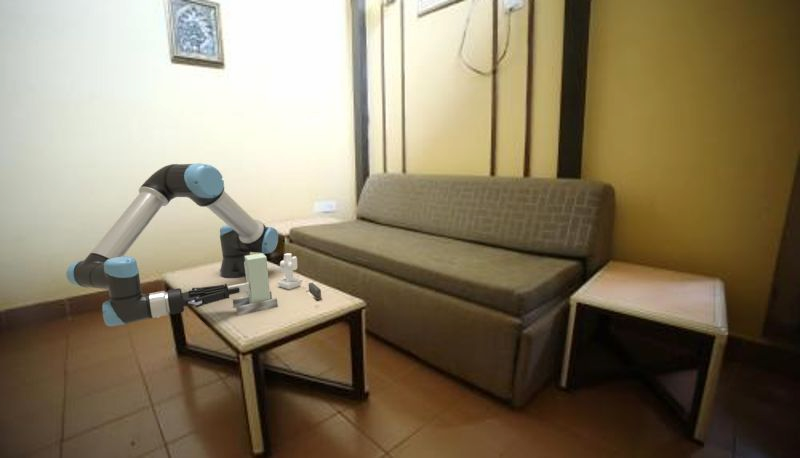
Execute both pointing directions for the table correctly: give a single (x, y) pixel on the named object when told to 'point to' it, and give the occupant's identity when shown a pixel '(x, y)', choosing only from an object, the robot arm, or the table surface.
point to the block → (257, 277)
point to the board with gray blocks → (268, 301)
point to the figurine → (289, 272)
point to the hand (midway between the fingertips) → (248, 286)
